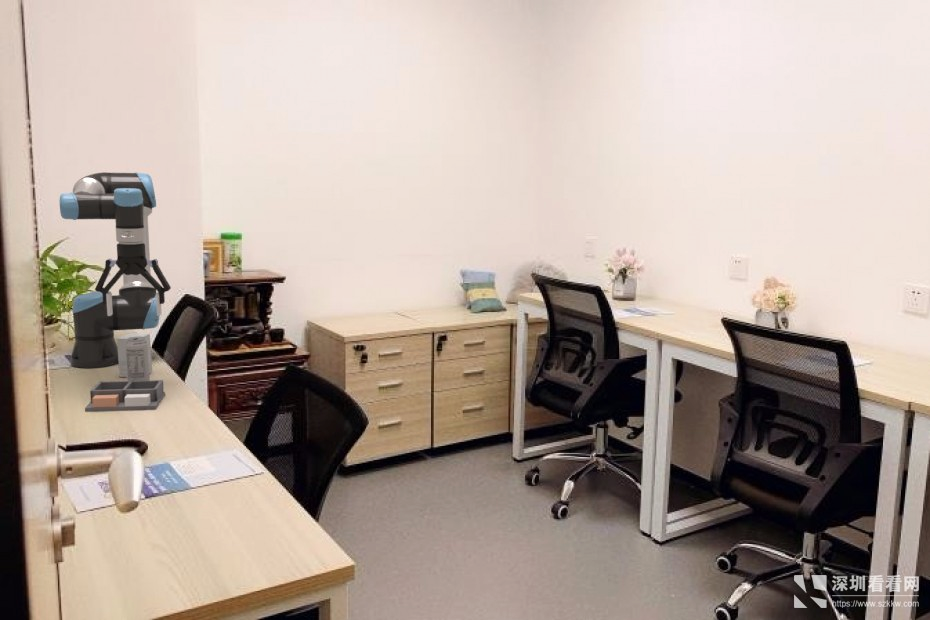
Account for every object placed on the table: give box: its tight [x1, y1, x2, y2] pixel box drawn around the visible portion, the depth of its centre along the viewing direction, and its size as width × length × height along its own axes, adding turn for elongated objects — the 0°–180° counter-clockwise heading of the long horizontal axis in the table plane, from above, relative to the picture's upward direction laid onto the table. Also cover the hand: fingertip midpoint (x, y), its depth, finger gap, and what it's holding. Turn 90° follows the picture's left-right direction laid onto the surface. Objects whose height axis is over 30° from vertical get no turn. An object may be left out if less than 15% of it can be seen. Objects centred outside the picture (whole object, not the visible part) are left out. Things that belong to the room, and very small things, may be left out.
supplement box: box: [116, 332, 153, 378], centre depth 241 cm, size 7×7×13 cm
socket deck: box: [84, 379, 166, 412], centre depth 214 cm, size 13×18×4 cm
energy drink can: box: [126, 337, 150, 381], centre depth 228 cm, size 6×6×15 cm
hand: (134, 315), depth 225 cm, fingers open, 13 cm apart
